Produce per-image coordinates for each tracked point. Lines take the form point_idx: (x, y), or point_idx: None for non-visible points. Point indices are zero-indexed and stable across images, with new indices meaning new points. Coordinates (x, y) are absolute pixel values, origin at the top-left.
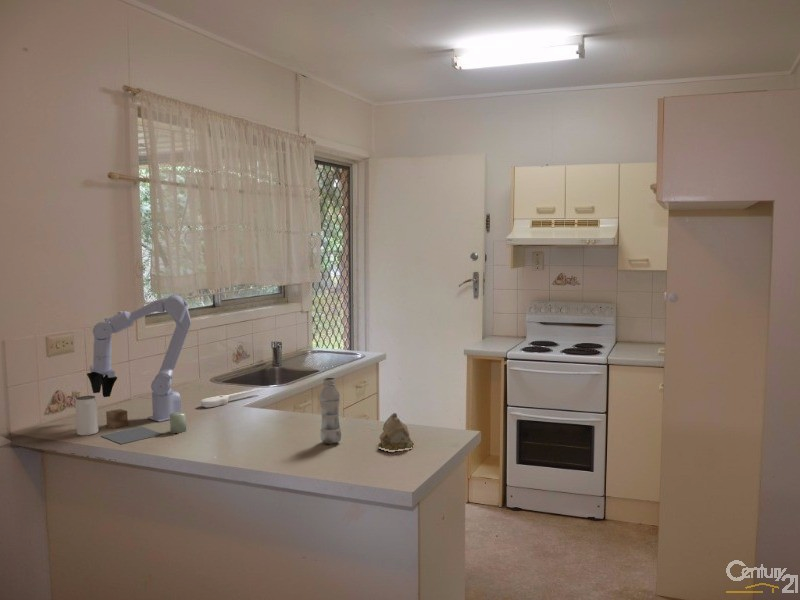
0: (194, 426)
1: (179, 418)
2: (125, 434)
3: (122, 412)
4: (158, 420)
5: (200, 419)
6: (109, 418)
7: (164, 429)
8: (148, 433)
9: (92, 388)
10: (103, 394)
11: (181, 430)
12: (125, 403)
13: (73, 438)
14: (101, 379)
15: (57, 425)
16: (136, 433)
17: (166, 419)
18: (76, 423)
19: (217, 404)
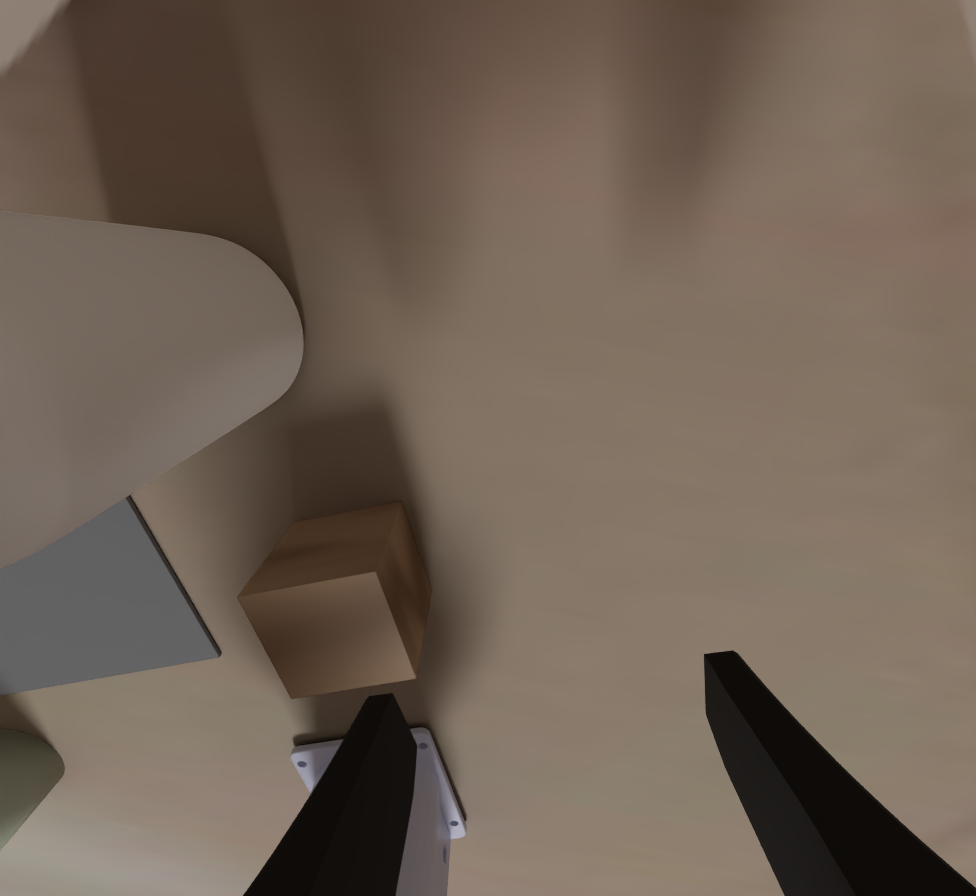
0: (107, 827)
1: None
2: None
3: (276, 663)
4: (293, 753)
5: (245, 872)
6: (330, 548)
7: (103, 726)
8: (13, 648)
9: (767, 715)
10: (349, 730)
11: None
12: (968, 723)
13: (88, 175)
14: None
15: (719, 132)
16: (40, 598)
17: (307, 783)
18: (130, 225)
19: None
